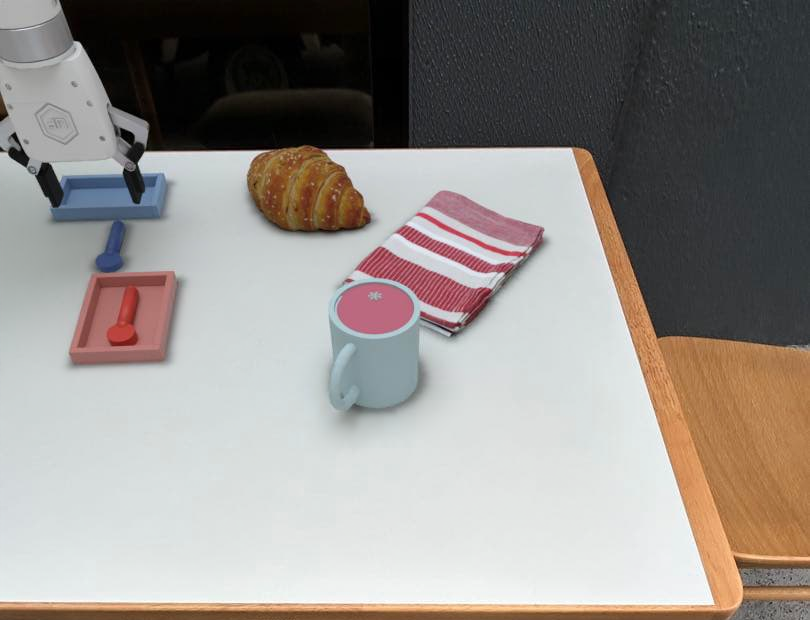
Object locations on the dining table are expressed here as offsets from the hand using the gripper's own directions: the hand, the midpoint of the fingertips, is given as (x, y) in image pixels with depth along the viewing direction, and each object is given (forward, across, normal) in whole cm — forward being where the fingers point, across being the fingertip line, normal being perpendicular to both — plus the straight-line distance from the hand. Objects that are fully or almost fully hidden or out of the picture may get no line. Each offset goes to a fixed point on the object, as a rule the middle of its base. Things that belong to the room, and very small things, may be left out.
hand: (99, 199), depth 81 cm
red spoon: (+6, +4, -15) cm, 17 cm away
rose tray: (+7, +4, -14) cm, 16 cm away
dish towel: (+8, +42, -6) cm, 43 cm away
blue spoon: (+7, 0, 0) cm, 7 cm away
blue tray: (+7, -2, +10) cm, 13 cm away
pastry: (+7, +24, +8) cm, 26 cm away
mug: (+8, +32, -28) cm, 43 cm away
